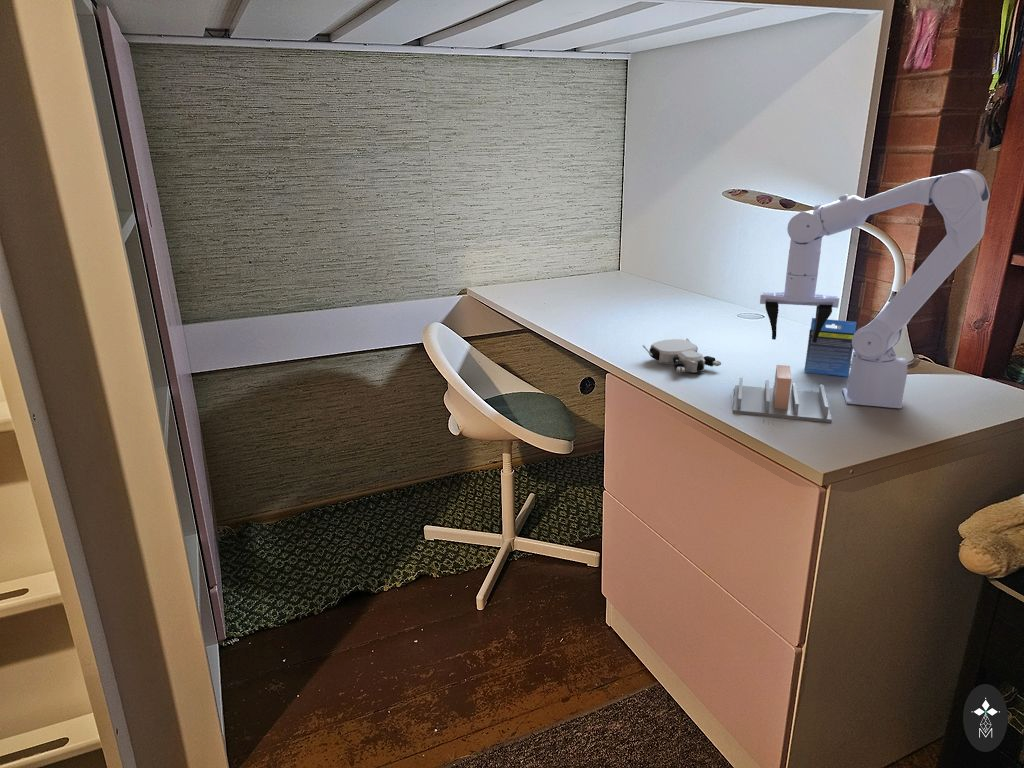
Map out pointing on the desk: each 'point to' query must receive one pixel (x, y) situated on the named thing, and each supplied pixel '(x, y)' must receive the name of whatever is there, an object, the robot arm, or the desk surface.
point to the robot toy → (680, 355)
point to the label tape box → (831, 349)
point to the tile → (782, 386)
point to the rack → (799, 407)
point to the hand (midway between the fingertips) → (793, 339)
